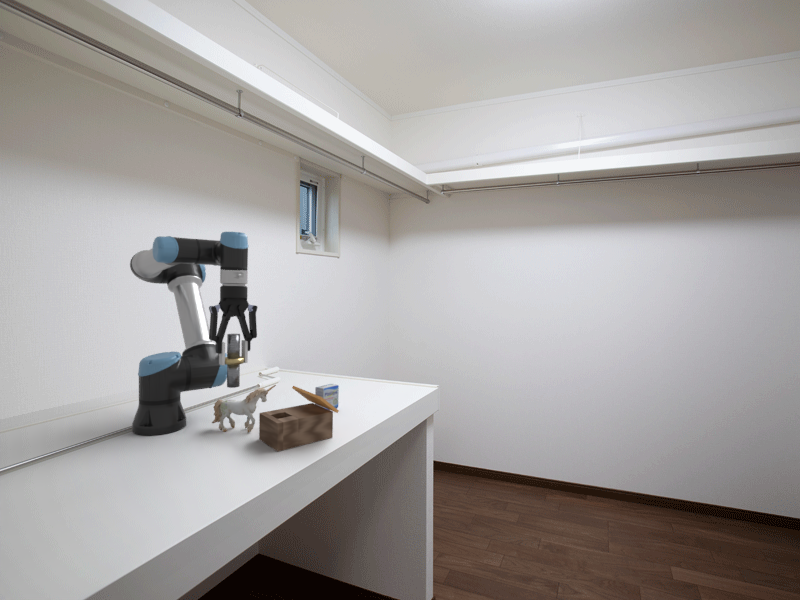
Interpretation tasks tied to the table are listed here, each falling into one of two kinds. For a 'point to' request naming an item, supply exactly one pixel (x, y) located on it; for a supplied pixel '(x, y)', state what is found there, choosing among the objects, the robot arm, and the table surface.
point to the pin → (233, 360)
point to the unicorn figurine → (239, 408)
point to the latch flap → (315, 399)
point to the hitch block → (295, 426)
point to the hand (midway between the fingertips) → (233, 363)
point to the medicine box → (328, 394)
